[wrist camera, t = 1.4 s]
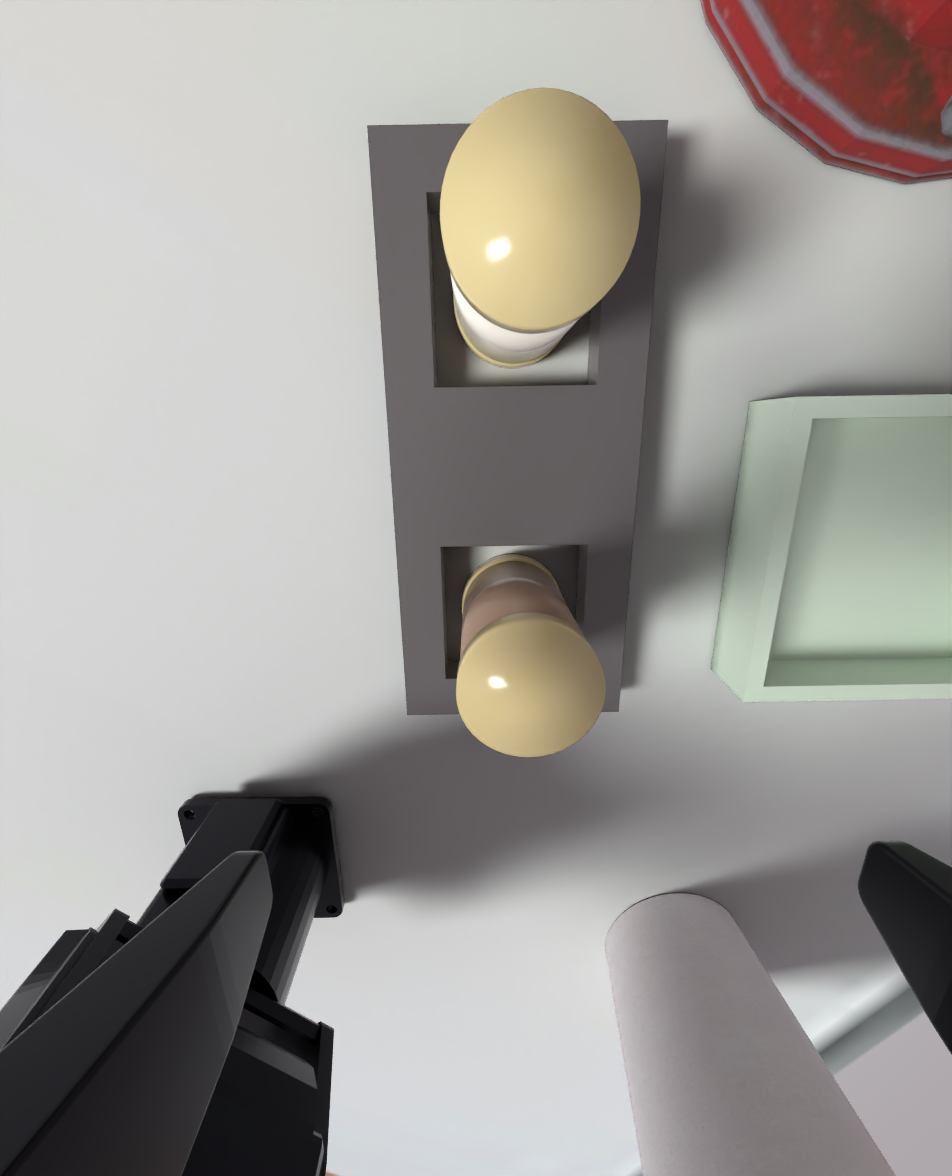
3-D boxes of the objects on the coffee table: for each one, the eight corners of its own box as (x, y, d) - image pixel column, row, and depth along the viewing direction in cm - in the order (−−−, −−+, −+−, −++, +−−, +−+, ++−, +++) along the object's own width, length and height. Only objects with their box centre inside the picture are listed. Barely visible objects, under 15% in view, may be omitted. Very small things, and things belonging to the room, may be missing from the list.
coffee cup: (729, 1019, 26) (1042, 1745, 12) (553, 995, 25) (655, 1729, 11) (799, 883, 23) (1332, 1626, 9) (603, 853, 22) (829, 1595, 8)
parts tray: (961, 665, 19) (1029, 697, 17) (710, 669, 20) (743, 701, 17) (1047, 396, 16) (1144, 390, 14) (749, 401, 16) (796, 396, 14)
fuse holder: (608, 692, 20) (618, 711, 18) (411, 695, 20) (407, 715, 19) (649, 148, 14) (668, 119, 13) (377, 153, 14) (367, 125, 13)
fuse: (568, 367, 16) (632, 324, 10) (456, 369, 16) (443, 327, 10) (573, 236, 15) (649, 86, 8) (452, 238, 15) (435, 89, 8)
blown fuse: (557, 644, 19) (601, 755, 13) (463, 646, 19) (458, 758, 13) (561, 553, 18) (610, 623, 12) (461, 555, 18) (453, 625, 12)
